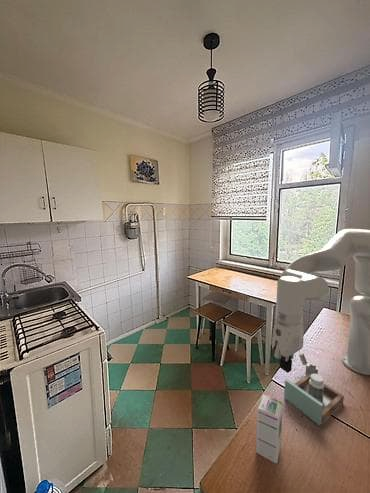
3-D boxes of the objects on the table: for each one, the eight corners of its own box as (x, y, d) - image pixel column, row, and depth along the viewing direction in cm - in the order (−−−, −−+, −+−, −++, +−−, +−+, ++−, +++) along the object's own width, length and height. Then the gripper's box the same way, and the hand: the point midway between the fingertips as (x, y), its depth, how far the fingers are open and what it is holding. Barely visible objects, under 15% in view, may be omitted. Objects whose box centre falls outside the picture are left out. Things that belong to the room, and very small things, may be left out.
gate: (321, 423, 69) (323, 404, 68) (319, 425, 68) (321, 406, 67) (286, 395, 79) (287, 378, 78) (284, 397, 79) (285, 380, 78)
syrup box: (277, 465, 58) (280, 418, 56) (255, 452, 61) (257, 407, 59) (280, 445, 63) (283, 402, 61) (259, 435, 66) (262, 393, 64)
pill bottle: (325, 404, 76) (327, 383, 74) (310, 402, 77) (311, 381, 75) (320, 394, 80) (321, 373, 79) (306, 391, 81) (307, 371, 80)
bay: (307, 380, 87) (308, 374, 87) (342, 403, 77) (343, 395, 76) (286, 396, 80) (286, 389, 79) (321, 423, 69) (322, 415, 69)
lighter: (317, 377, 89) (319, 359, 88) (316, 379, 88) (318, 361, 86) (298, 368, 94) (300, 351, 93) (297, 370, 92) (299, 353, 91)
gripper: (285, 328, 60) (281, 386, 63) (314, 314, 68) (309, 367, 71) (262, 317, 66) (260, 371, 69) (291, 306, 74) (288, 354, 77)
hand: (285, 369), depth 70 cm, fingers closed
